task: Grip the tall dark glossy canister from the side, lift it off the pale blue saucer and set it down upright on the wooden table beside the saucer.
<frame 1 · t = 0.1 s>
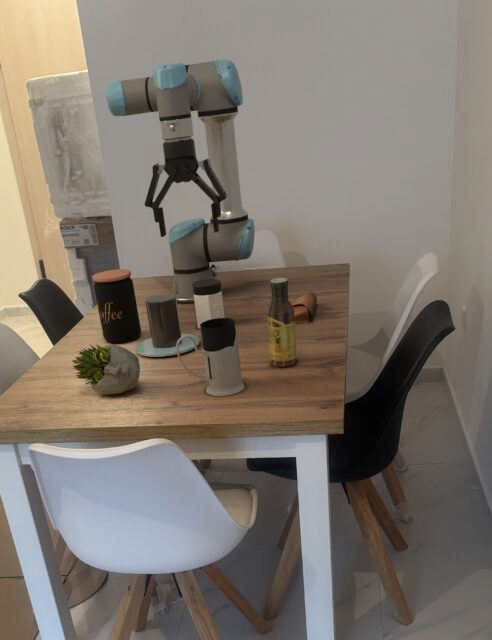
hand: (189, 233, 191), 28 cm above the table, tool pointing down, fingers open, 13 cm apart
jar: (211, 325, 218), on the table
sauce bottle: (284, 364, 183), on the table
sunglasses case: (300, 314, 218), on the table
glass holder: (214, 392, 172), on the table
coffee jar: (123, 339, 217), on the table
saucer: (168, 348, 204), on the table
potted plant: (111, 393, 179), on the table
dark glossy canister: (167, 343, 203), point 1 cm above the table, touching saucer
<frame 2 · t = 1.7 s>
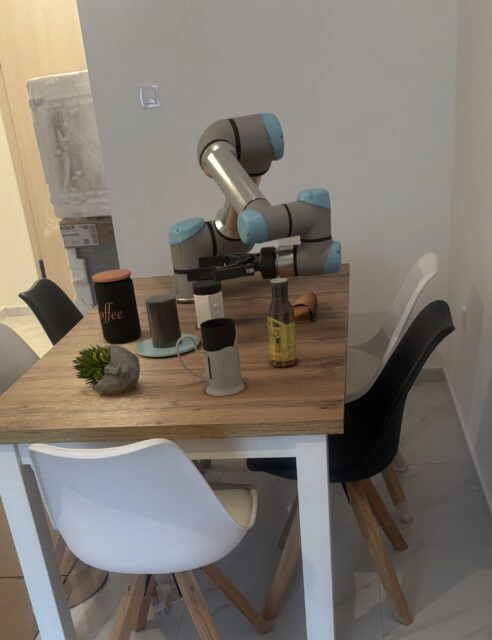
hand: (193, 269, 192), 20 cm above the table, tool horizontal, fingers open, 13 cm apart
nothing on the table moved.
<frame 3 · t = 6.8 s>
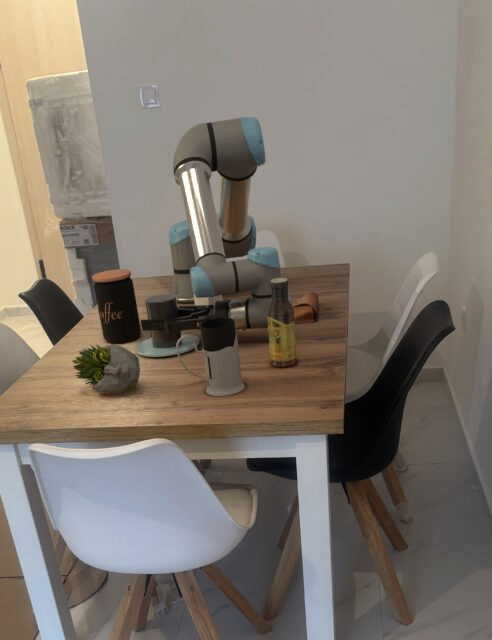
hand: (146, 320, 201), 8 cm above the table, tool horizontal, fingers closed on dark glossy canister, 8 cm apart
dark glossy canister: (167, 343, 203), point 1 cm above the table, touching gripper, saucer
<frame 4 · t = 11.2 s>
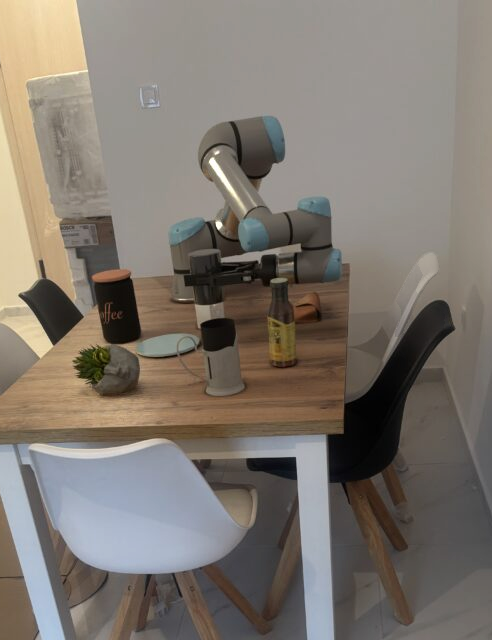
hand: (188, 276, 193), 18 cm above the table, tool horizontal, fingers closed on dark glossy canister, 8 cm apart
dark glossy canister: (210, 301, 195), point 12 cm above the table, touching gripper
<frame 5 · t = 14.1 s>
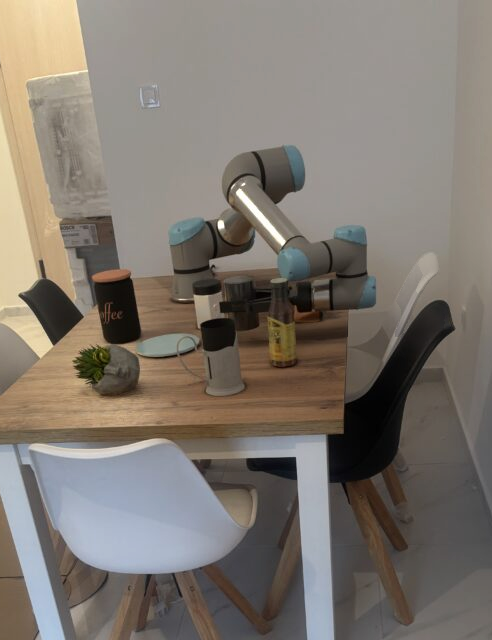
hand: (223, 302, 195), 11 cm above the table, tool horizontal, fingers closed on dark glossy canister, 8 cm apart
dark glossy canister: (244, 326, 197), point 5 cm above the table, touching gripper
when the fingers open (6 cm above the table, at t = 15.9 s): dark glossy canister stays where it is, on the table.
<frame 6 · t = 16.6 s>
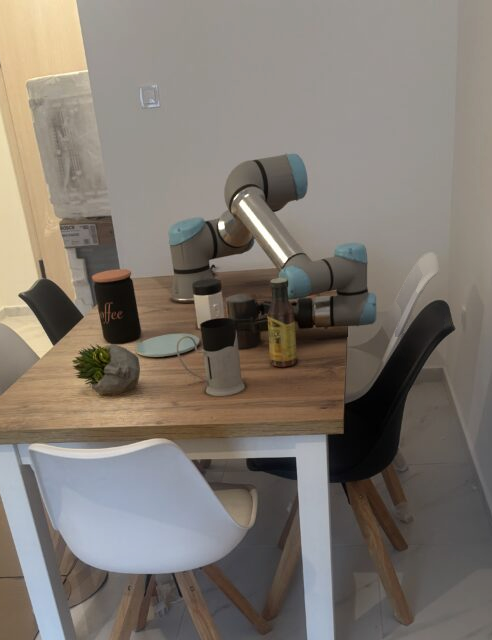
hand: (230, 317, 197), 7 cm above the table, tool horizontal, fingers open, 13 cm apart
dark glossy canister: (246, 344, 199), on the table
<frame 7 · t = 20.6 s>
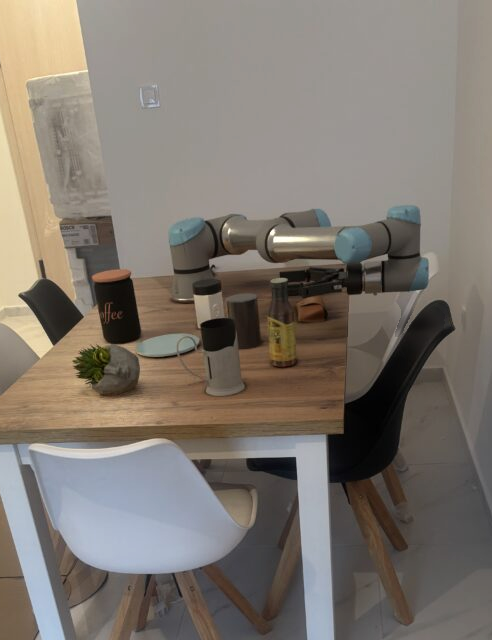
hand: (276, 284, 192), 14 cm above the table, tool horizontal, fingers open, 13 cm apart
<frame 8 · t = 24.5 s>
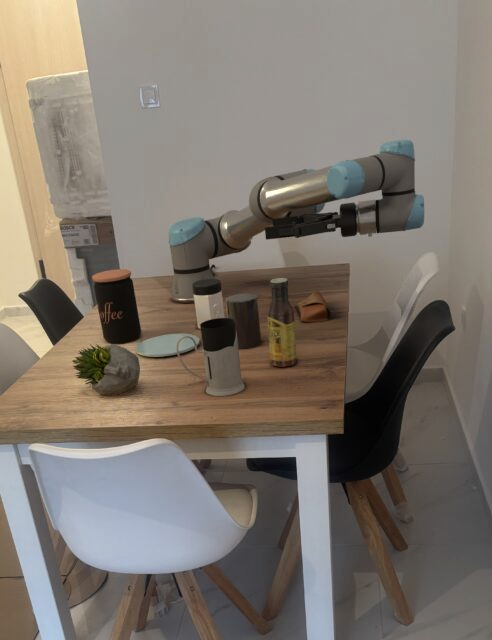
hand: (269, 228, 187), 27 cm above the table, tool horizontal, fingers open, 13 cm apart
at the end: dark glossy canister inside the target area (0.0 cm from its centre), on the table; dark glossy canister tilted 0°; dark glossy canister touching table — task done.
